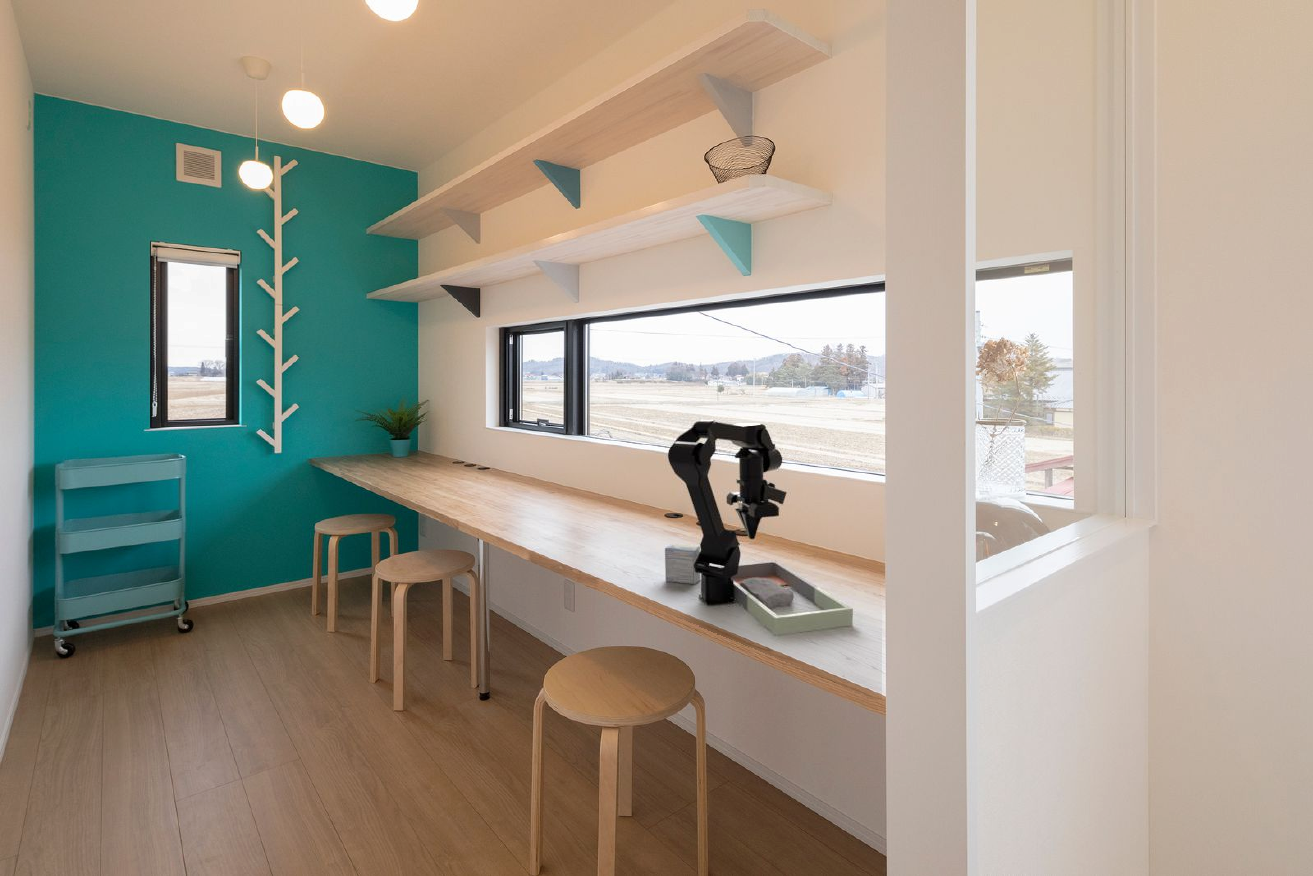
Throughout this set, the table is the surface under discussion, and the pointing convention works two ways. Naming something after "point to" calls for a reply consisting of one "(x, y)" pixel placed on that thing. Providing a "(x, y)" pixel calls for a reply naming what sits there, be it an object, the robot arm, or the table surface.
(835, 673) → the table surface
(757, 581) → the stone block
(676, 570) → the medicine box
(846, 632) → the table surface
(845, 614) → the open tray box
